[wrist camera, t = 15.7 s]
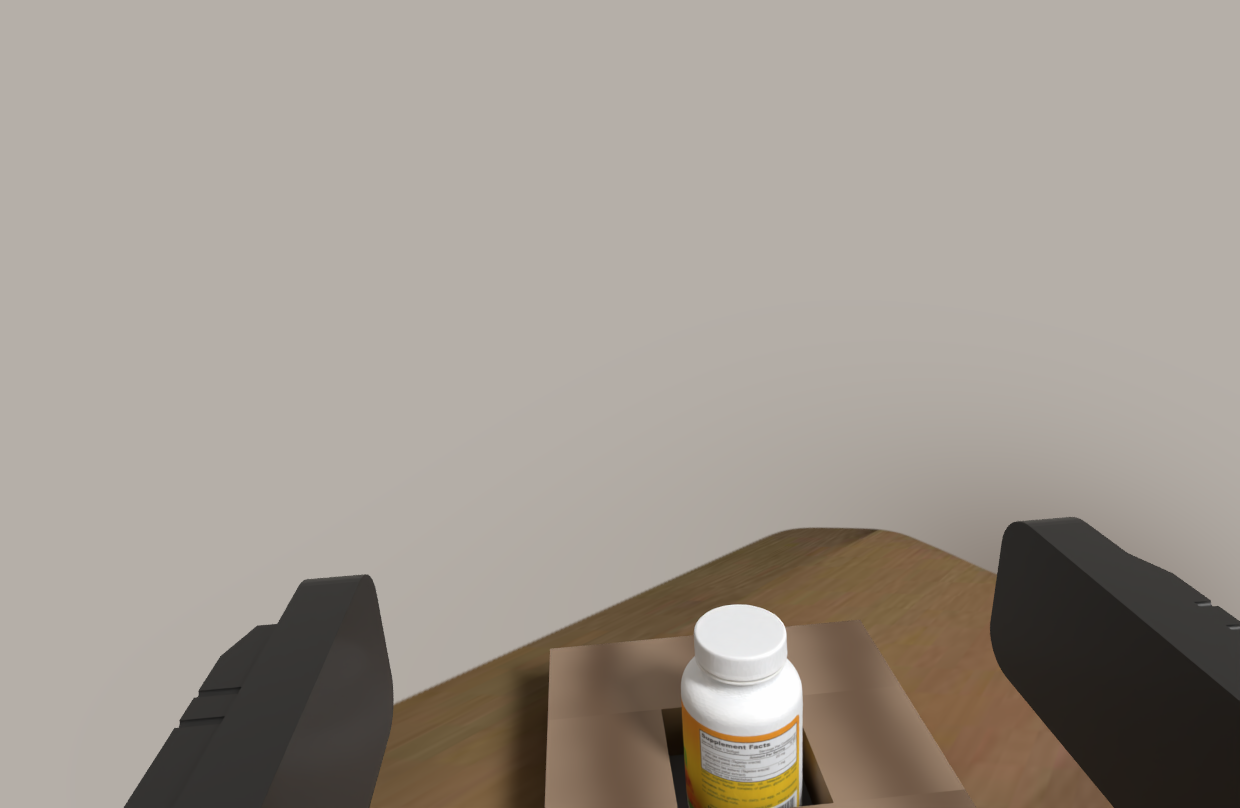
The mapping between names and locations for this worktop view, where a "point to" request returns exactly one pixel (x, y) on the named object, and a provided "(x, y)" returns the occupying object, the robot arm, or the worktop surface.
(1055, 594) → the robot arm
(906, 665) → the worktop surface
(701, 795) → the supplement bottle
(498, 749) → the worktop surface
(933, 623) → the worktop surface
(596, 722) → the socket block
